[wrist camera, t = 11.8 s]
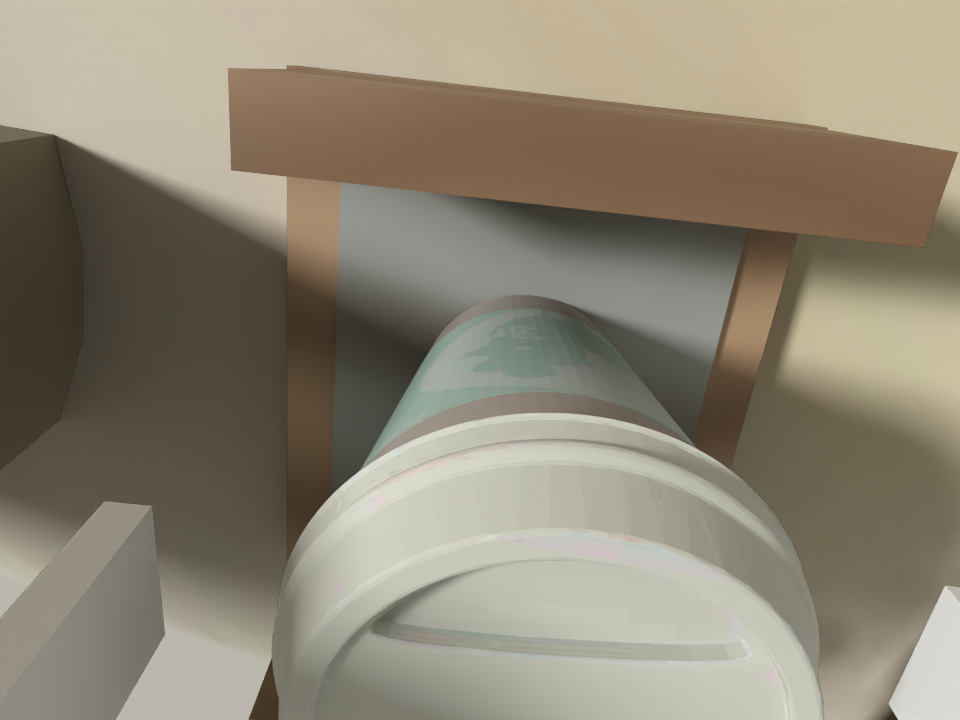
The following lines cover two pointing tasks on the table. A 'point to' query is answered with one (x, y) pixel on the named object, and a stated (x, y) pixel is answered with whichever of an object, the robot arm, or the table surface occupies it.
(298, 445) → the holder
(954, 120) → the table surface
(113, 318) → the table surface
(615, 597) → the coffee cup
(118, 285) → the table surface
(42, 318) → the book
